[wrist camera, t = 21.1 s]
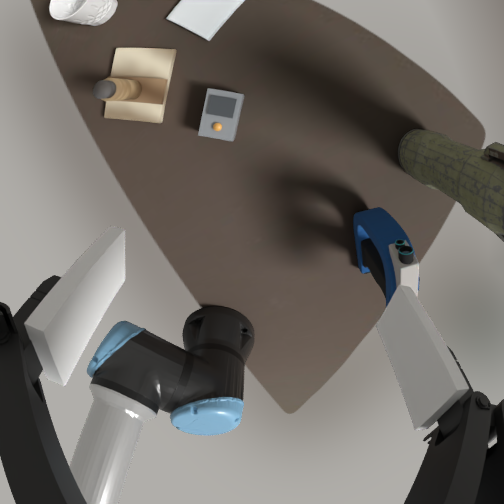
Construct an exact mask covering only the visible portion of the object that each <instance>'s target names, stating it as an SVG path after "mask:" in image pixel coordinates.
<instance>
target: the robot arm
mask: <svg viewBox="0 0 504 504" xmlns="http://www.w3.org/2000/svg"><path fill="white" fill-rule="evenodd" d="M124 281H125V229H123V228H119V227H114V226H110V227H109V228H108V229H107V230H106V231H105V232H104V233H103V234H102V235H101V236H100V237H99V238H98V239H97V240H96V241H95V242H94V243H93V244H92V245H91V246H90V247H89V248H88V249H87V250H86V251H85V252H84V253H83V254H82V255H81V257H80V258H79V259H78V260H77V261H76V262H75V263H74V264H73V265H72V266H71V267H70V269H69V270H68V271H67V272H66V273H65V274H64V275H63V276H62V277H59V276H55V275H54V276H52V277H50V278H48V279H47V280H45V281H43V282H42V284H41V285H40V286H39V287H38V288H37V289H36V291H35V292H34V293H33V294H32V295H31V297H30V298H28V300H27V301H26V302H25V303H24V304H23V306H22V307H21V308H20V309H19V310H18V312H17V313H16V314H15V315H14V317H12V314H11V311H10V308H9V307H8V306H7V305H6V304H4V303H1V302H0V456H1V460H2V463H3V467H4V471H5V474H6V477H7V480H8V483H9V486H10V489H11V492H12V494H13V497H14V500H15V502H16V504H118V503H119V499H120V496H121V493H122V490H123V486H124V483H125V479H126V476H127V473H128V470H129V467H130V464H131V460H132V457H133V454H134V451H135V448H136V445H137V442H138V439H139V436H140V433H141V430H142V427H143V424H144V423H145V422H146V421H148V420H151V419H153V418H155V417H156V416H157V412H158V410H159V409H161V410H163V411H165V412H168V413H170V414H171V415H170V419H171V423H172V424H173V425H174V426H175V427H176V428H177V429H179V430H181V431H183V432H186V433H190V434H195V435H217V434H223V433H226V432H229V431H231V430H233V429H234V428H236V427H237V426H238V425H239V423H240V421H241V417H242V410H243V406H244V402H243V392H244V366H245V362H246V360H247V358H248V356H249V354H250V352H251V350H252V348H253V345H254V329H253V326H252V324H251V323H250V321H249V320H248V319H247V318H246V317H245V316H244V315H242V314H241V313H239V312H237V311H235V310H232V309H229V308H225V307H218V306H212V307H205V308H201V309H199V310H197V311H195V312H193V313H192V314H191V315H190V316H189V317H188V318H187V320H186V322H185V325H184V329H183V342H184V348H185V350H184V349H182V348H180V347H178V346H176V345H174V344H172V343H170V342H168V341H166V340H164V339H162V338H160V337H158V336H156V335H154V334H152V333H150V332H149V331H147V330H146V329H145V328H140V327H138V326H136V325H134V324H132V323H130V322H127V321H121V322H118V323H117V324H116V325H115V326H113V328H112V329H111V330H110V331H109V333H108V334H107V336H106V337H105V338H104V340H103V341H102V343H101V344H100V346H99V347H98V349H97V351H96V353H95V355H94V356H93V358H92V360H91V361H90V363H89V365H88V368H87V373H88V375H89V376H90V377H92V378H93V379H92V381H91V384H90V390H91V392H92V395H93V398H94V402H93V404H92V406H91V409H90V411H89V414H88V417H87V419H86V422H85V424H84V427H83V430H82V432H81V435H80V438H79V441H78V444H77V446H76V449H75V452H74V455H73V458H72V461H71V464H70V467H69V465H68V463H67V461H66V458H65V456H64V453H63V451H62V448H61V446H60V443H59V441H58V438H57V435H56V432H55V429H54V426H53V423H52V420H51V417H50V414H49V411H48V407H47V404H46V400H45V397H44V393H43V389H42V385H41V382H40V379H39V375H40V374H41V372H42V370H43V371H44V373H45V375H46V377H47V379H48V380H50V381H53V382H55V383H57V384H60V385H62V386H64V387H65V386H66V384H67V382H68V380H69V377H70V375H71V373H72V372H73V370H74V368H75V366H76V364H77V362H78V360H79V358H80V356H81V354H82V353H83V350H84V349H85V347H86V345H87V343H88V342H89V340H90V338H91V336H92V334H93V333H94V331H95V329H96V327H97V326H98V324H99V322H100V320H101V319H102V317H103V315H104V314H105V312H106V310H107V309H108V307H109V305H110V304H111V302H112V300H113V299H114V297H115V295H116V294H117V292H118V290H119V289H120V287H121V286H122V284H123V283H124ZM376 327H377V330H378V332H379V334H380V337H381V339H382V342H383V344H384V346H385V349H386V352H387V354H388V357H389V359H390V362H391V364H392V367H393V369H394V372H395V375H396V377H397V380H398V382H399V385H400V388H401V391H402V393H403V396H404V399H405V402H406V405H407V408H408V410H409V413H410V416H411V419H412V423H413V426H414V428H415V430H422V429H428V428H429V427H430V426H431V425H433V424H434V423H435V422H436V421H438V424H439V426H438V427H437V428H436V429H434V430H433V431H432V432H431V433H430V434H428V435H427V436H426V437H425V438H424V440H423V441H426V440H427V439H429V438H430V437H432V438H431V440H430V441H429V442H428V444H429V447H428V449H427V453H426V455H425V457H424V460H423V462H422V465H421V467H420V470H419V472H418V475H417V477H416V479H415V481H414V484H413V486H412V488H411V490H410V492H409V494H408V497H407V498H406V500H405V503H404V504H504V399H503V400H502V401H501V402H500V403H499V404H498V405H492V404H491V403H490V401H489V399H488V398H487V396H486V395H484V394H483V393H481V392H478V391H476V392H473V389H472V387H471V385H470V383H469V381H468V379H467V378H466V376H465V374H464V372H463V370H462V369H461V366H460V364H459V362H457V359H456V357H455V355H454V353H453V352H452V351H451V349H450V348H449V347H448V346H447V345H446V344H445V342H444V340H443V339H442V337H441V335H440V333H439V332H438V330H437V329H436V327H435V325H434V323H433V322H432V320H431V319H430V317H429V315H428V314H427V312H426V311H425V309H424V307H423V306H422V304H421V303H420V301H419V299H418V298H417V296H416V295H415V293H414V292H413V290H412V289H411V287H408V286H403V285H398V287H397V289H396V291H395V293H394V295H393V296H392V298H391V300H390V302H389V304H388V306H387V307H386V309H385V311H384V313H383V314H382V316H381V318H380V320H379V321H378V323H377V325H376ZM496 437H497V443H496V444H494V445H493V446H492V447H491V448H488V443H490V442H491V441H492V440H494V439H495V438H496Z"/></svg>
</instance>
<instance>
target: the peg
mask: <svg viewBox="0 0 504 504" xmlns="http://www.w3.org/2000/svg"><path fill="white" fill-rule="evenodd" d="M141 92H142V85H141V83H140V82H138V81H136V80H128V79H119V78H107V79H105V80H101V81H98V82H97V83H96V84H95V86H94V88H93V94H94V96H95V97H96V98H98V99H102V100H103V101H121V100H134V99H137V98H138V97H139V96H140V94H141Z"/></svg>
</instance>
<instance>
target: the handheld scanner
mask: <svg viewBox="0 0 504 504" xmlns="http://www.w3.org/2000/svg"><path fill="white" fill-rule="evenodd" d="M353 228H354V235H355V243H356V250H357V258H358V267H359V269H360V271H361V273H364V274H366V273H370V272H371V274H372V276H373V277H374V279H375V281H376V282H377V284H378V285H379V286H380V287H381V289H382V291H383V293H384V295H385V298H386V307H387V306H388V304H389V302H390V300H391V298H392V296H393V295H394V293H395V291H396V289H397V287H398V285H403V286H408V287H411V289H412V290H413V292H414V293H415V295H416V296H417V295H418V290H419V280H420V279H419V262H418V260H417V259H416V256H415V252H414V249H413V247H412V244H411V242H410V240H409V238H408V236H407V235H406V233H405V232H404V230H403V229H402V228H401V226H400V225H399V224H398V223H397V222H396V221H395V219H394V218H393V217H392V216H391V215H390V214H389V213H387V212H386V211H385V210H384V209H382V208H380V207H378V208H373V209H369V210H365V211H361V212H357V213H355V215H354V218H353Z"/></svg>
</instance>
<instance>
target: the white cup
mask: <svg viewBox="0 0 504 504" xmlns="http://www.w3.org/2000/svg"><path fill="white" fill-rule="evenodd" d="M116 8H117V0H51V2H50V6H49V11H50V14H51V16H52V17H53V18H54V19H57V20H62V21H68V22H73V23H78V24H83V25H84V24H86V25H91V26H97V25H100V24H103V23H105V22H106V21H107V20H109V19H110V18H111V16H112V15H113V14H114V13H115V11H116Z"/></svg>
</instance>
